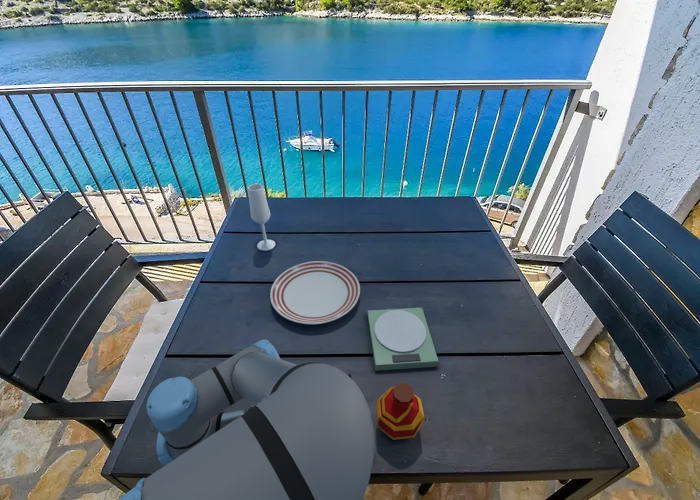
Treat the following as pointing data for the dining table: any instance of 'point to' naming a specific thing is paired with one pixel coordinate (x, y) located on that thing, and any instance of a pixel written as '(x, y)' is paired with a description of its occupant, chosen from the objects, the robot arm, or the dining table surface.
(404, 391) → the potion bottle
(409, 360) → the kitchen scale
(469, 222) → the dining table surface
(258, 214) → the champagne flute
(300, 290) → the dinner plate
